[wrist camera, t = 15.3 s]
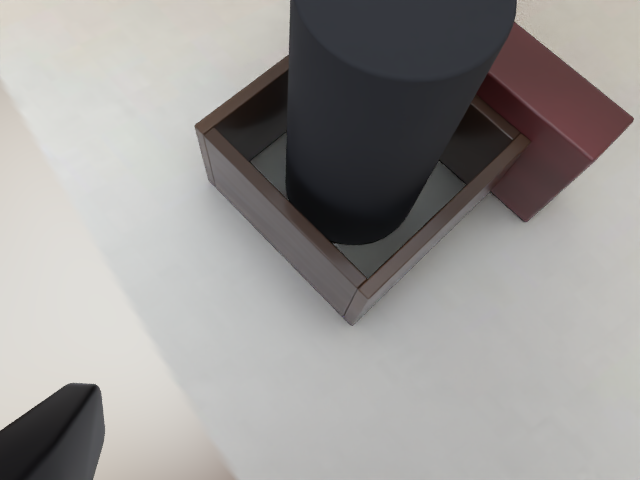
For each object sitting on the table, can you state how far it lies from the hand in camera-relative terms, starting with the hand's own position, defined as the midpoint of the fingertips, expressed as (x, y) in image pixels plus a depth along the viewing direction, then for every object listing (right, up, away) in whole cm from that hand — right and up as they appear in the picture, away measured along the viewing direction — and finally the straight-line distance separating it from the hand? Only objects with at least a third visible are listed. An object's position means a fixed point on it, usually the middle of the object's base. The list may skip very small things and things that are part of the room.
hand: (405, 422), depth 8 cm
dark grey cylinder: (0, +5, +11) cm, 12 cm away
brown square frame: (0, +5, +11) cm, 12 cm away
